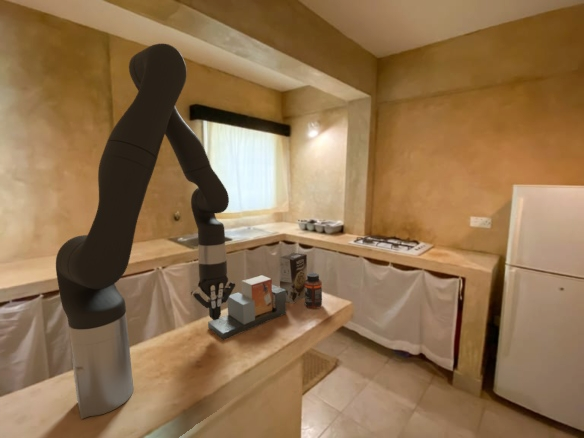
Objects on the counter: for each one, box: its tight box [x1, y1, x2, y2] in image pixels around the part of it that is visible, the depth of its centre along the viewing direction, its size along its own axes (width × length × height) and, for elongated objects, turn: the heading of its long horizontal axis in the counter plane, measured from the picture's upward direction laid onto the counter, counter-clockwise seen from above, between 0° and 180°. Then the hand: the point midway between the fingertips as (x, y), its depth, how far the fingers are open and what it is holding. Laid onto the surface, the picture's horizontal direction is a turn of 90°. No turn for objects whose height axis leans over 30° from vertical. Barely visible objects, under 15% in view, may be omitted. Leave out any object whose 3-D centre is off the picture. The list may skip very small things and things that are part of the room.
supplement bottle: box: [304, 272, 323, 310], centre depth 97 cm, size 6×6×11 cm
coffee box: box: [279, 252, 308, 304], centre depth 104 cm, size 9×6×16 cm
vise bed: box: [207, 284, 287, 341], centre depth 88 cm, size 23×9×8 cm, turn 133°
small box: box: [241, 274, 273, 316], centre depth 89 cm, size 8×6×10 cm
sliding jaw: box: [226, 292, 255, 324], centre depth 86 cm, size 4×9×6 cm, turn 43°
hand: (215, 318), depth 80 cm, fingers closed
